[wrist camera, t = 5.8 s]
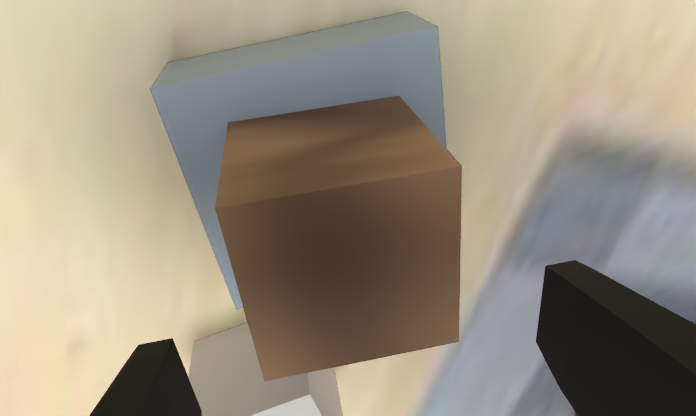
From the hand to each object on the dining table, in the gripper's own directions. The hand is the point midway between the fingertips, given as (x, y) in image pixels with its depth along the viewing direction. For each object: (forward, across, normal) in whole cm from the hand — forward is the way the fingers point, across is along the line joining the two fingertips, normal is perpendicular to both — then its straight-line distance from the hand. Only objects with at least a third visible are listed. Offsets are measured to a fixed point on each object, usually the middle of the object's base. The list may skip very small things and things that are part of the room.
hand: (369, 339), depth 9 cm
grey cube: (+10, +4, +10) cm, 15 cm away
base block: (+10, 0, 0) cm, 10 cm away
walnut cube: (+7, 0, 0) cm, 7 cm away
